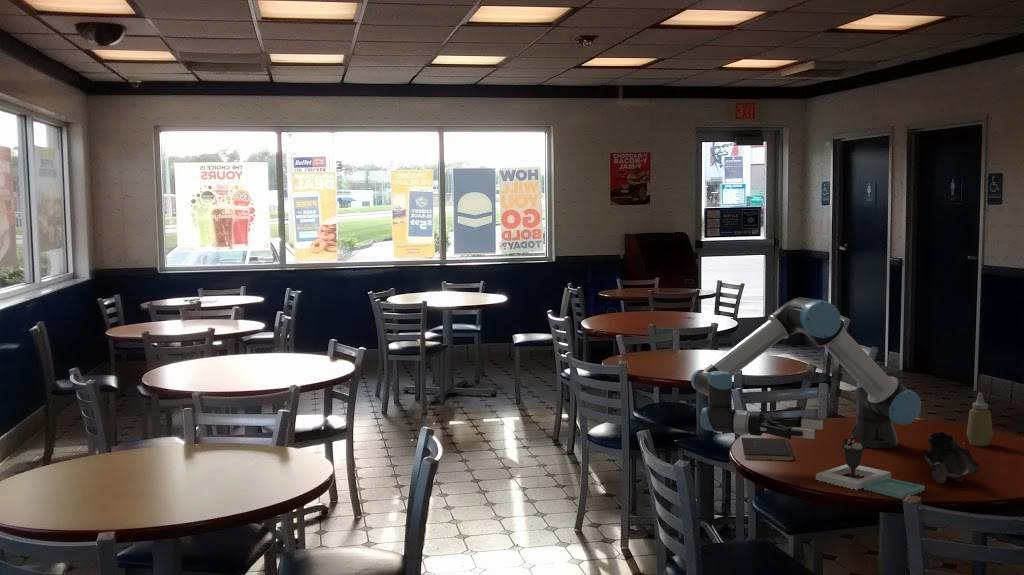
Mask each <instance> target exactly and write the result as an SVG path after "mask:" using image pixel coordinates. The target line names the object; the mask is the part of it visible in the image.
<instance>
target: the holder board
mask: <svg viewBox="0 0 1024 575" xmlns="http://www.w3.org/2000/svg"><path fill="white" fill-rule="evenodd" d="M847 474H849V475H851V468H850V467H849V466H848V465H847V464H846V463H845V464H844V465H840V466H839V465H838V466H837V467H833V468H831V469H830V468H829V469H828V470H823V471H820V472H817V473H815V481H816V480H819V481H818V482H820V481H823V482H822V483H824V482H827V483H826V484H829V483H831V484H830V485H833V484H834V486H837V485H838V487H841V486H843V487H842V488H845V487H846V488H845V489H849V488H850V489H849V490H853V489H855V490H854V491H859V490H858V489H860V490H862V489H861V488H863V489H864V485H866V484H869V483H872V482H875V481H878V480H881V479H883V478H886V477H887V478H891V479H892V477H891V475H892V473H891V472H890V471H886V470H883V469H877V468H873V467H868V466H865V465H861V464H860V465H859V466H858V467H857V468H856V469H855V475H856V476H857V475H859V477H862V476H864V477H862V478H861V479H855V478H850V477H849V476H845V475H847Z"/></svg>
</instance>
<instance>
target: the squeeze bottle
mask: <svg viewBox="0 0 1024 575" xmlns="http://www.w3.org/2000/svg"><path fill="white" fill-rule="evenodd" d="M988 408H989V404H988V403H986V402H985V400H984V395H983V392H978V393H977V397H976V400H975V402H973V403H972V408H971V409H970V410H969V413H968V422H967V427H966V435H967V439H968V442H969V444H970V445H971V446H976V447H988V446H989V445H990V444H991V441H992V438H993V436H994V435H993V424H992V422H993V421H992V413H991V410H989V409H988Z"/></svg>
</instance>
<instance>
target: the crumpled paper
mask: <svg viewBox="0 0 1024 575" xmlns="http://www.w3.org/2000/svg"><path fill="white" fill-rule="evenodd" d="M954 436H955V433H953V434H952V435H949V434H948V433H946V432H944V431H939V432H933V434H931V435H930V436H929V437H928V439H927V441H926V442H927V443H928V444H930V449H929V450H927V448H925V447H923V450H922V453H923V454H922V455H923V457H924V459H925V461H926V462H927V464H929V466H930V467H931V468H932V469H931V473H930V474H931V476H932V477H933V479H934V480H935V482H936V483H938V484H944V483H945V482H946V481H947V478H949V479H951V480H954V481H956V482H957V483H958V482H959V483H963V481H964V477H965V475H967V474H971V475H975V474H977V473H978V471H979V468H980V464H978V463H976V462H975V461H974V458H973V456H972V454H971V451H970V450H968V449H967V448H965V447H963V446H961V445H960V444H959V443H958V441H956V440H955V439H954V438H955V437H954ZM975 457H976V458H977V457H978V456H975Z"/></svg>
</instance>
